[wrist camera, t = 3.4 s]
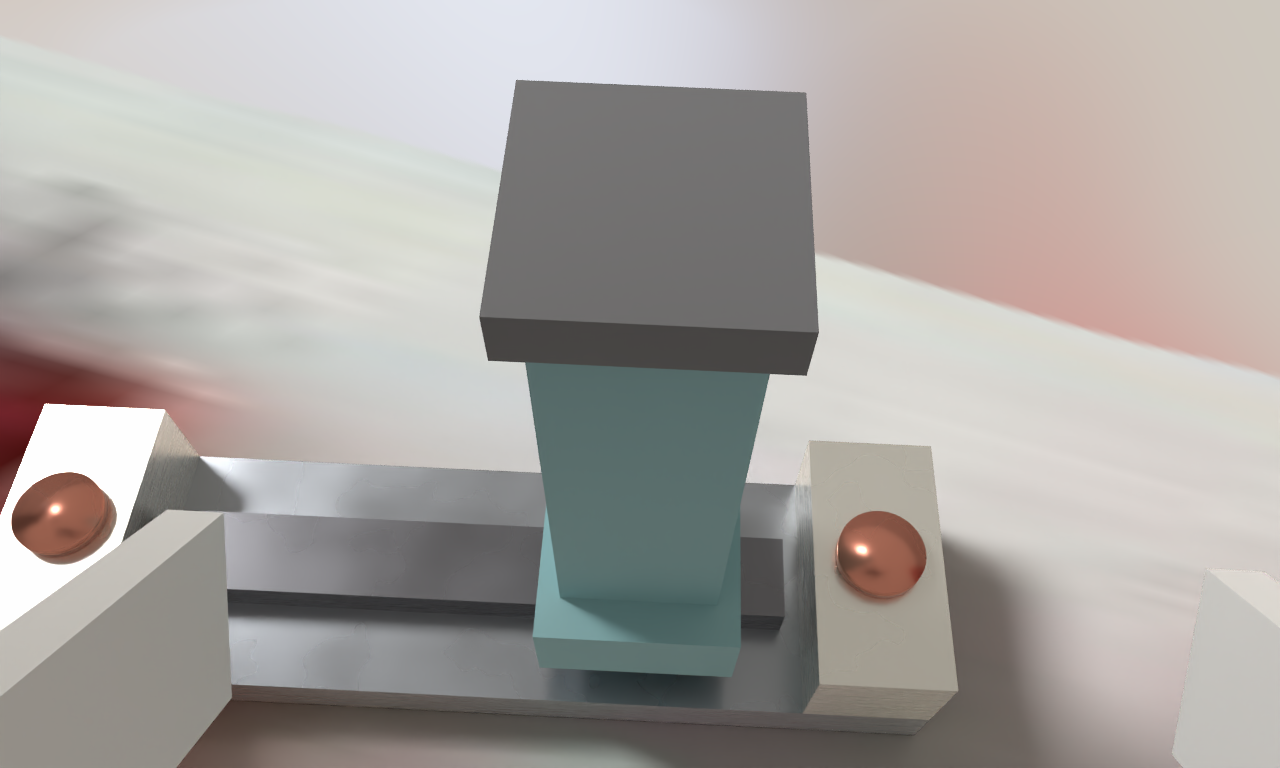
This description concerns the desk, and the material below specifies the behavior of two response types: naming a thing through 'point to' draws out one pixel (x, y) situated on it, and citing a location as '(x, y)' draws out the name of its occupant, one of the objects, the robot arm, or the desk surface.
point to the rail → (501, 579)
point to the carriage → (649, 349)
